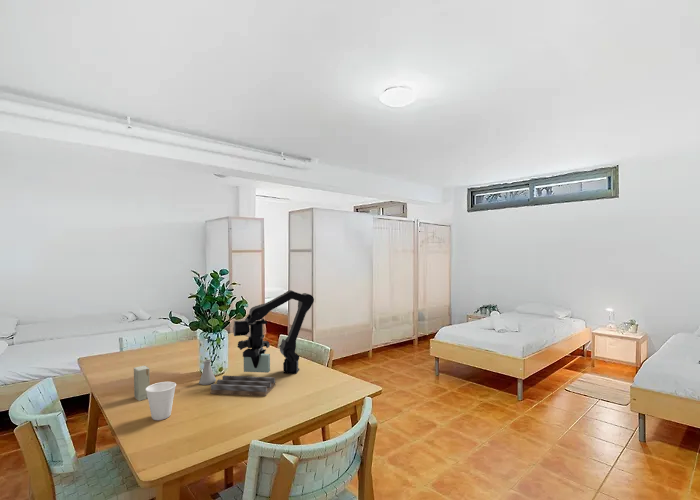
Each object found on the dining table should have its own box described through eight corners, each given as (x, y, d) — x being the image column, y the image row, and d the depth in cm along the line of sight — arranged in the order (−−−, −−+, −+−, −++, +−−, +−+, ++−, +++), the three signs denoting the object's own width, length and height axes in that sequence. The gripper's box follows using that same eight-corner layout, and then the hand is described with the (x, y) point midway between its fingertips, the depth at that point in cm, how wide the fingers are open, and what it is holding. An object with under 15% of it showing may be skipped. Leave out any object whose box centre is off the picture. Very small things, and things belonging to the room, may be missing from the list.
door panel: (270, 370, 172) (269, 353, 172) (268, 372, 170) (268, 355, 170) (245, 370, 174) (245, 353, 174) (243, 371, 172) (243, 354, 171)
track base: (275, 385, 162) (275, 377, 162) (265, 395, 150) (265, 387, 150) (224, 383, 165) (224, 375, 165) (210, 393, 153) (210, 385, 153)
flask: (210, 385, 161) (209, 363, 161) (195, 384, 163) (195, 362, 163) (219, 380, 168) (218, 358, 168) (204, 379, 170) (204, 357, 170)
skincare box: (150, 398, 148) (150, 368, 148) (138, 401, 145) (138, 370, 145) (145, 393, 153) (145, 364, 153) (133, 397, 150) (133, 367, 150)
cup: (157, 410, 137) (156, 381, 137) (182, 411, 136) (181, 381, 136) (139, 422, 127) (138, 391, 127) (166, 423, 126) (165, 392, 126)
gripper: (248, 329, 182) (248, 360, 182) (231, 338, 164) (231, 373, 164) (269, 329, 181) (270, 361, 181) (255, 338, 162) (255, 373, 162)
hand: (256, 366), depth 172 cm, fingers closed on door panel, 2 cm apart
